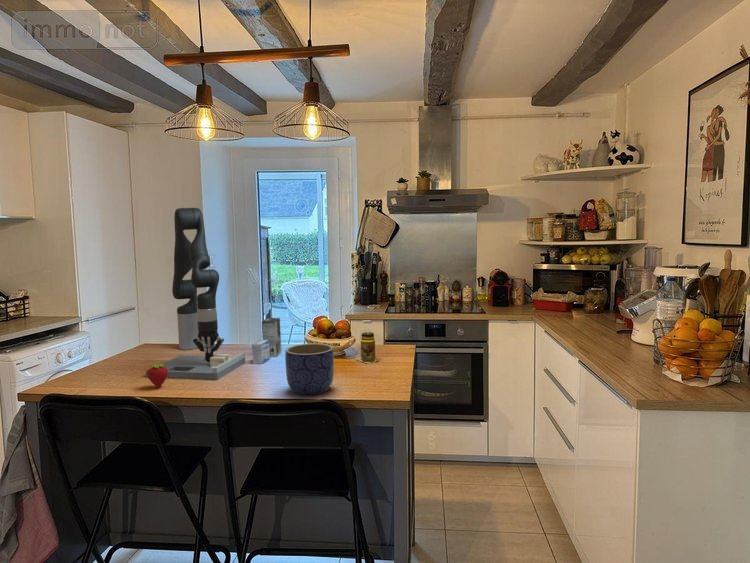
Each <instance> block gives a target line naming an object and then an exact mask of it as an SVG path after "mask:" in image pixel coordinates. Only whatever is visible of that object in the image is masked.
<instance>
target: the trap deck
mask: <svg viewBox="0 0 750 563" xmlns="http://www.w3.org/2000/svg"><path fill="white" fill-rule="evenodd" d="M161 364H163V365H165V366H163V367H165V368H167V369H168V376H167V377H169V378H168V379H181V378H190V379H189V380H210V381H218V380H219V379H221V378H223V377H225V376H226V375H228V374H229V373H232V372H233V371H235V370H236V369H238V368H239V367H241V366H243V365H244V364H246V352H240V353H238V354H236V355H234V356H231V359H229V360H227V361H225V362H223V363H222V364H220V365H218V366H216V367H210V362H207V361H206V360H205V355H185V354H184V355H183V354H182V355H178V356H176V357H174V358H171V359H169V360H167V361H164V362H162V363H161ZM157 365H158V366H159V364H157ZM149 369H150V368H148V369H146V370H144V371H145V377H146V378H148V376H147V371H148V370H149Z"/></svg>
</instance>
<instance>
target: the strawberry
mask: <svg viewBox="0 0 750 563" xmlns="http://www.w3.org/2000/svg"><path fill="white" fill-rule="evenodd" d="M159 363H160V360H158V362H157V364H153V365H151V366H150V368H148V369H149V370H148V369H147V370H148V371H147V376H148V377H147V378H148V380H149V381H150V382H151V383H152V384H153V386H154V387H156V388H157V387H159V388H161V386H163V384H164V383H165V381H166V380H167V379H168V378H167V376H168V369H167V368H165V367H163V366H165V365H163V364H162V363H160V364H159ZM158 365H159V366H158Z"/></svg>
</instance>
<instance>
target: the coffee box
mask: <svg viewBox="0 0 750 563" xmlns="http://www.w3.org/2000/svg"><path fill="white" fill-rule="evenodd" d="M261 330H262V331H261V335H262V340H269V351H270V358H277V357H278V356H279V355H280V354H281V353H282V339H281V337H282V336H281V334H282V332H281V318H279V317H267V318H265V319H264V320H262V321H261Z"/></svg>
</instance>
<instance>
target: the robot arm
mask: <svg viewBox="0 0 750 563" xmlns="http://www.w3.org/2000/svg"><path fill="white" fill-rule="evenodd" d="M173 216H174V217H173V218H174V248H173V249H174V253H173V254H174V255H173V278H172V286H171V287H172V291H171V293H172V296H173V298H174V299H175V300H188V299H189V300H188V301H187V302H186V303H185V304H183V305H180V306H178V307H177V308H176V316H177V334H178V347H179V348H178V349H179V350H182V349H183V350H184V351H186V350H188V351H189V350H194V349H198V350H199V351H200V352H202V353H204V356H205V360H206V361H207V362H210V358H211V357H213V356H214V352H217V351H218V350H219V348H220V347H221V346H222V345H223V343H224V341H225V338H221V337H220V335H219V332H218V329H219V328H218V327H219V326H218V311H217V304H216V302H217V301H216V299H217V298H216V297H217V290H218V287H219V282H220V274H219V272H218V271H217V269H215V268H214V269H213V268H212V269H210V268H209V267H210V265H211V259H210V255H209V252H208V251H209V250H208V248H207V241H206V240H207V239H206V231H205V230H206V229H205V223H204V215H203V213H202V210H201V209H200V208H199V207H179V208H176V209H175V211H174V215H173ZM190 230H191V231H193V230H196V235H195V237H194V239H193V240H192V242H191V241H190V239H188V237H187V236H186V235H185V232H184V231H190ZM207 268H209V269H207ZM190 271H191V276H190V278H191V279H184V278H185V276H186V275H187V274H188V273H190ZM201 288H208V289H207V290H206V291H205V292H202V293H199V294H198V289H201Z"/></svg>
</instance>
